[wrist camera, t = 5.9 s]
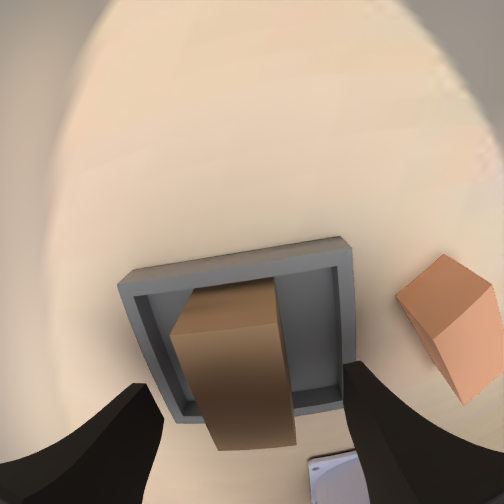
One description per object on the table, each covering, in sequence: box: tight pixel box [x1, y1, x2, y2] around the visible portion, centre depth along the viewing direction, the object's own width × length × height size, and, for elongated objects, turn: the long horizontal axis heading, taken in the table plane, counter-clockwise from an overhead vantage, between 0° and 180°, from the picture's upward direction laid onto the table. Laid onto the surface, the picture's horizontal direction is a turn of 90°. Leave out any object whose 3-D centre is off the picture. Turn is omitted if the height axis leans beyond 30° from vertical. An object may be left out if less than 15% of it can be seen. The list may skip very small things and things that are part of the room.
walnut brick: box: [170, 277, 297, 451], centre depth 11 cm, size 6×3×4 cm, turn 10°
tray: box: [117, 236, 356, 424], centre depth 13 cm, size 8×9×2 cm
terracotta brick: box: [395, 254, 504, 406], centre depth 11 cm, size 6×3×4 cm, turn 40°
